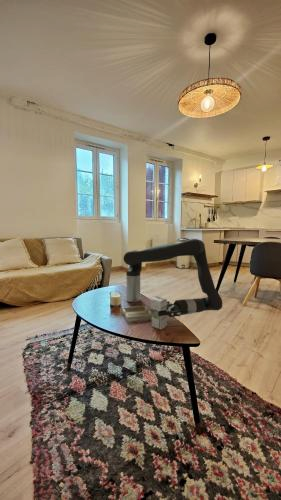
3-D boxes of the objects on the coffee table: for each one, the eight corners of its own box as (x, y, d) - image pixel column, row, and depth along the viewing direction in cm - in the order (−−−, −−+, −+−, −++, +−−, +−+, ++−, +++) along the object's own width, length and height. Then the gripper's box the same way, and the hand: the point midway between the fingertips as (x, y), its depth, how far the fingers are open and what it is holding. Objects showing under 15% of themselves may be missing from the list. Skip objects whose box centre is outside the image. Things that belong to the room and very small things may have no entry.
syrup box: (167, 326, 109) (167, 297, 108) (159, 330, 105) (160, 301, 103) (157, 322, 113) (158, 295, 111) (150, 326, 109) (150, 298, 107)
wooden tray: (121, 312, 126) (121, 307, 125) (145, 310, 130) (145, 305, 130) (127, 323, 113) (127, 317, 112) (153, 319, 117) (153, 314, 116)
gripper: (178, 295, 118) (150, 298, 114) (192, 304, 105) (160, 308, 100) (178, 308, 119) (150, 312, 115) (192, 319, 106) (160, 324, 101)
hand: (155, 310), depth 107 cm, fingers closed on syrup box, 8 cm apart
